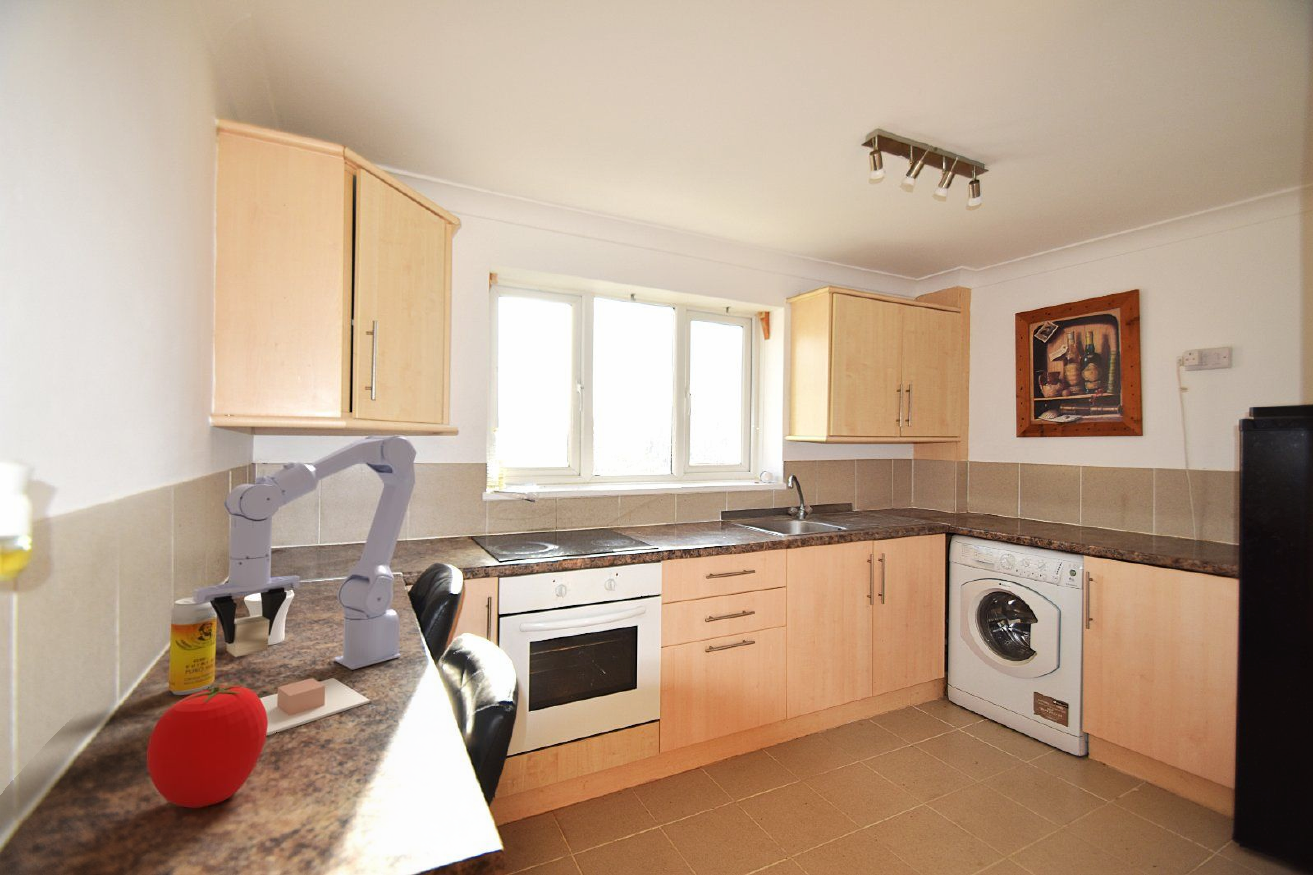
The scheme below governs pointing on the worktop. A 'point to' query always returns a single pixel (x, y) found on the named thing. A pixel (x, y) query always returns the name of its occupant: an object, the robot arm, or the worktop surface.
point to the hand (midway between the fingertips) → (248, 638)
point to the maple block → (249, 635)
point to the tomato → (207, 745)
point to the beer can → (192, 646)
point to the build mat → (335, 702)
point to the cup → (278, 626)
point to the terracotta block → (301, 696)
